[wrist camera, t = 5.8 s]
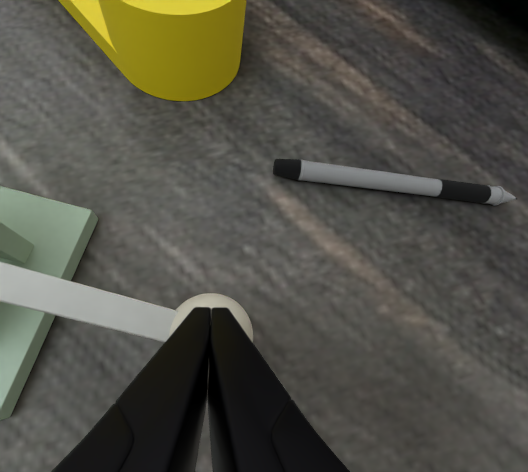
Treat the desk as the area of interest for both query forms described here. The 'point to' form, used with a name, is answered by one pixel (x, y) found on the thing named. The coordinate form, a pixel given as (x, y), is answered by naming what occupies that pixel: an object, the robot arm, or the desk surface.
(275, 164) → the pen
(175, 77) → the crank
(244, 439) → the robot arm
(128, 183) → the desk surface
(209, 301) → the lever
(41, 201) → the bracket
